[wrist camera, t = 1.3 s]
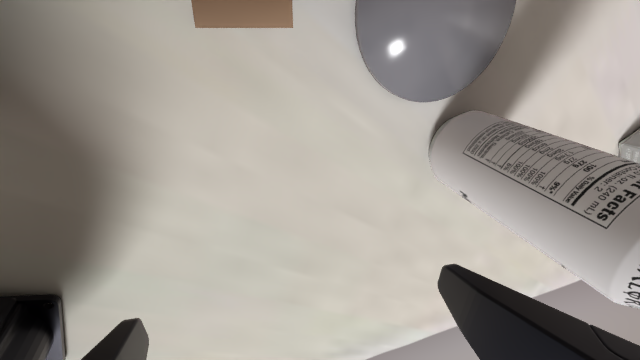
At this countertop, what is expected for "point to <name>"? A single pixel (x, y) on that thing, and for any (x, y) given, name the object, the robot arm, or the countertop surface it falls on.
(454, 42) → the coaster
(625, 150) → the skincare box
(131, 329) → the robot arm
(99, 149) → the countertop surface
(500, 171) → the energy drink can
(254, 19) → the walnut block
